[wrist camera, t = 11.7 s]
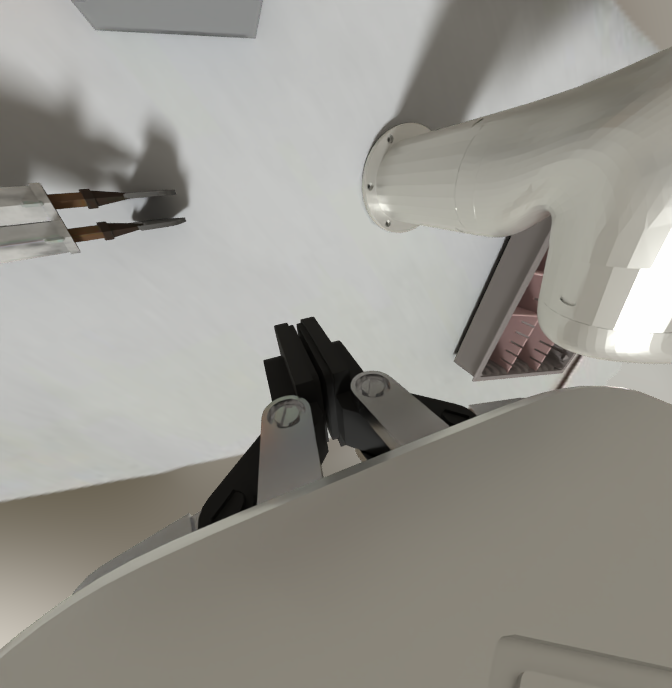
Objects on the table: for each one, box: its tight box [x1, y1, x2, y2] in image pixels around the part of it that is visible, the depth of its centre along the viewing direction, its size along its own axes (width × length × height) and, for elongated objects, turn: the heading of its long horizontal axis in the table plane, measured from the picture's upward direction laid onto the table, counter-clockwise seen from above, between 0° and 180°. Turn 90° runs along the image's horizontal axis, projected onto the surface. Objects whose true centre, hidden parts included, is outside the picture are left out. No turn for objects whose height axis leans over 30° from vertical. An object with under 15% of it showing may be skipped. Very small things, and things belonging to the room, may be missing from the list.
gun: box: [0, 183, 186, 264], centre depth 23 cm, size 5×27×15 cm, turn 94°
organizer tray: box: [454, 215, 576, 382], centre depth 52 cm, size 32×40×10 cm
